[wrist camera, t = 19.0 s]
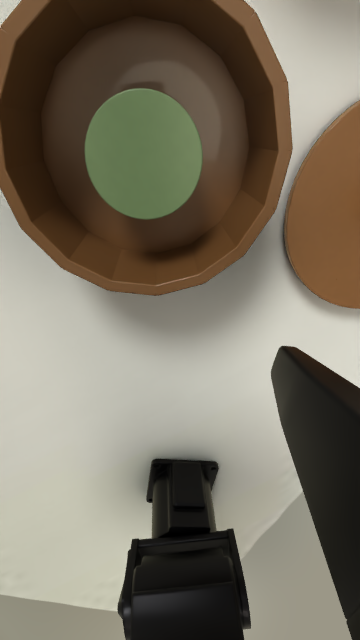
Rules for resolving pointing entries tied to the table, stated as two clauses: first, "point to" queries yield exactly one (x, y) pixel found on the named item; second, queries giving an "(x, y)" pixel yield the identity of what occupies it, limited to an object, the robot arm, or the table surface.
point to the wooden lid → (328, 214)
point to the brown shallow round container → (150, 73)
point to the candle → (143, 153)
